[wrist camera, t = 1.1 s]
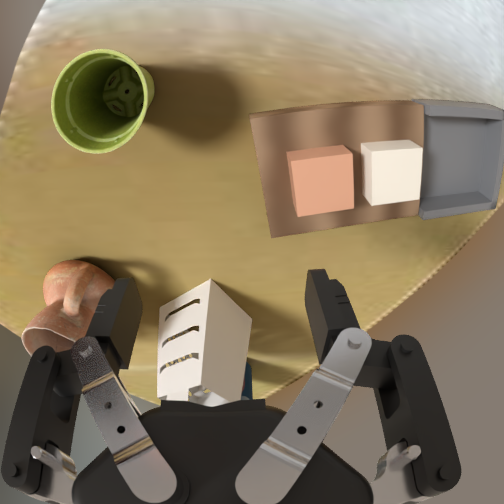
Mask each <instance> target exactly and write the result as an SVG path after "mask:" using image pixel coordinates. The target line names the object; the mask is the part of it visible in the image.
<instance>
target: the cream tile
mask: <svg viewBox="0 0 504 504" xmlns="http://www.w3.org/2000/svg"><path fill="white" fill-rule="evenodd" d="M422 153H423V148H422V147H420V146H419V145H417V144H415V143H414V142H412V141H411V140H395V141H380V142H367V143H361V161H362V194H363V195H364V197H365V198H366V199H367V201H368V202H369V203H370V205H371V206H374V205H382V204H389V203H396V202H403V201H411V200H419V197H420V186H421V172H422Z"/></svg>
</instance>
